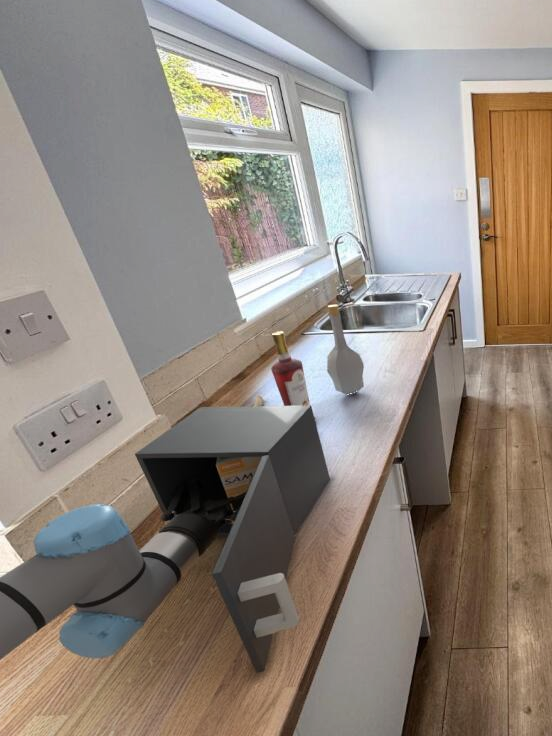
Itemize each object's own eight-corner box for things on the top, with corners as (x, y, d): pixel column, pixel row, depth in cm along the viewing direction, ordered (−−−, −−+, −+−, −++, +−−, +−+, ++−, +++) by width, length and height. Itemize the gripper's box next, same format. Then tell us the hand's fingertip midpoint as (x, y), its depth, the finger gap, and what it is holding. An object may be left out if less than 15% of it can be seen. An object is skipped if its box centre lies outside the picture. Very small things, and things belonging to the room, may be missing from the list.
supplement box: (234, 518, 82) (213, 466, 77) (235, 503, 86) (216, 452, 80) (280, 502, 85) (263, 451, 80) (279, 489, 89) (263, 439, 84)
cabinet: (295, 536, 78) (267, 452, 70) (174, 537, 79) (134, 453, 71) (330, 480, 93) (311, 405, 85) (228, 481, 94) (200, 407, 86)
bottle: (352, 406, 124) (333, 313, 112) (325, 400, 128) (303, 309, 116) (376, 389, 134) (361, 302, 122) (350, 384, 138) (332, 299, 126)
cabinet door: (325, 531, 79) (302, 448, 71) (305, 658, 58) (269, 560, 50) (290, 540, 77) (262, 456, 70) (256, 673, 56) (211, 574, 48)
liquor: (303, 416, 119) (279, 327, 108) (322, 420, 117) (300, 330, 106) (282, 430, 113) (254, 336, 102) (302, 434, 110) (276, 339, 100)
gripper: (113, 563, 68) (204, 477, 87) (259, 562, 67) (318, 476, 86) (93, 529, 65) (192, 448, 84) (246, 528, 64) (310, 447, 84)
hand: (256, 462), depth 85 cm, fingers open, 13 cm apart
